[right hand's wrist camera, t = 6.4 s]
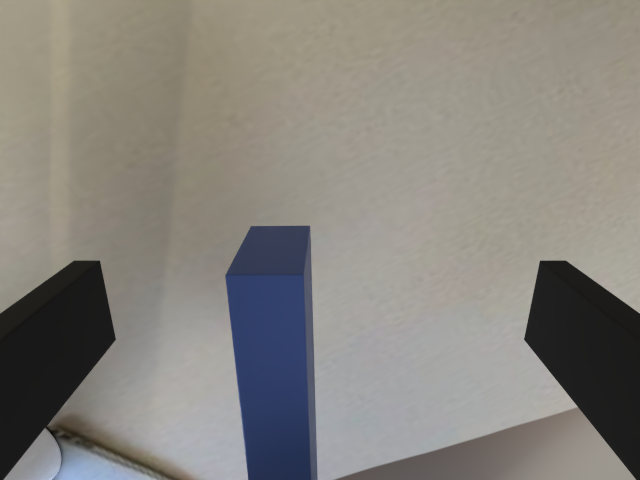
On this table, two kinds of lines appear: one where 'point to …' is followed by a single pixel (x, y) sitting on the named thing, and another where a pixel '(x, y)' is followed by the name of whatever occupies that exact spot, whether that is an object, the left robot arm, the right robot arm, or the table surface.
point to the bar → (275, 351)
